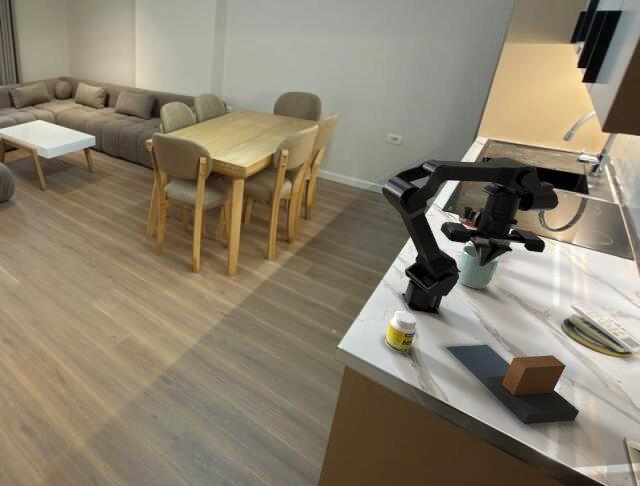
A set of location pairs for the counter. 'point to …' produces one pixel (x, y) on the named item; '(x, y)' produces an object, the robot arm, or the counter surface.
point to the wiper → (533, 390)
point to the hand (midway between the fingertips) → (480, 265)
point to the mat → (483, 363)
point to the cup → (475, 269)
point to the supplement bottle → (401, 332)
